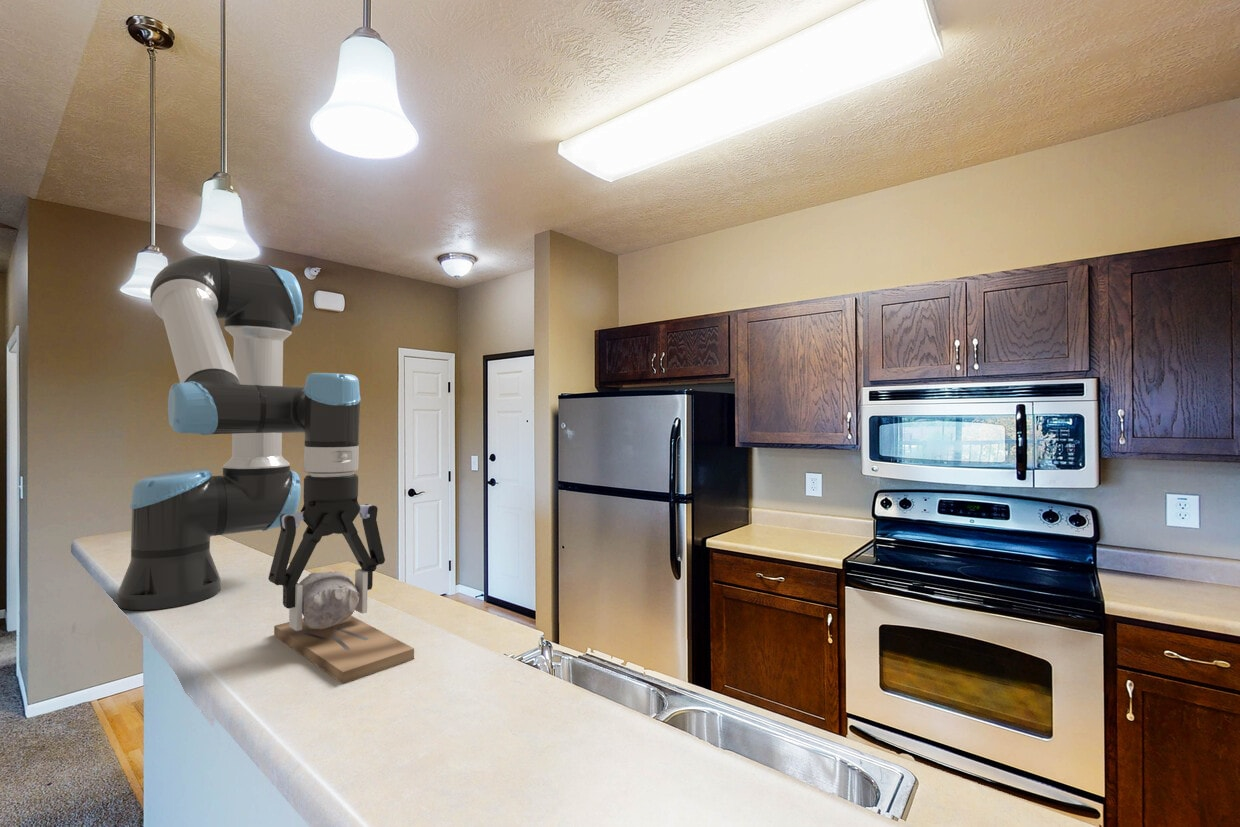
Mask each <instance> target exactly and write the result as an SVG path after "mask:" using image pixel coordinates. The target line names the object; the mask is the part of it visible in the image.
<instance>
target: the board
mask: <svg viewBox="0 0 1240 827" xmlns="http://www.w3.org/2000/svg"><path fill="white" fill-rule="evenodd" d="M273 630H274V631H273V632H274V633H273V636H275V637H276V638H277V639H278V640H281V642H283V643H285V644H286V645H288V647H290V648H292V649H293V650H294V651H296V652H297V653H298V654H300V655H301V656H303V657H304V658H306V659H307V660H309V661H310V662H312V663H313V664H314V665H316V666H317V667H319V668H320V669H322V670H323V671H324V672H325V673H327V674H329V675H330V676H331V677H333V678H334V679H335V680H336V681H339V682H340V683H341V684H346V683H348V682H352V681H355V680H357V679H360V678H364V677H366V676H369V675H373V674H375V673H379V672H380V671H383V670H386V669H389V668H392V667H394V666H397V665H400V664H403V663H406V662H409V661H412V660H414V659H415V647H412V646H411V645H408V644H407V643H405V642H403V641H401V640H399V639H397V638H395V637H393V636H391V635H389V634H387V633H385V632H383V631H382V630H380V629H377V628H376V627H374V626H372V625H370V624H368V623H367V622H365V621H362V620H361V619H358V618H357V617H354V616H353V615H351V616H350V617H349V618H347V619H346V620H343V621H342V622H340V623H338V624H337V625H334V626H332V627H329V628H325V629H310V628H309V627H307V625H306V624H305V622H304V617H302V630H299V631H295V630H294V629H292V628H291V627H289V621H288V622H283V623H280V624H279V623H278V624H276V625H274V626H273Z"/></svg>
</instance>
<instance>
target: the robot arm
mask: <svg viewBox="0 0 1240 827" xmlns="http://www.w3.org/2000/svg"><path fill="white" fill-rule="evenodd" d="M301 289H302V288H301V287H300V283H299V281H298V280H297V278H296V276H295V275H294V274H293V273H292V272H290V271H288V270H287V269H282V268H279V267H273V266H271V265H269V264H268V265H266V264H258V263H253V262H246V261H239V260H234V259H227V258H221V257H216V256H211V255H191V256H186V257H183V258H180V259H177V260H175V261H173V262H171V263H170V264H168V265H166V266H165V267H164V268H162V270H160V271H159V272H158V273H157V274H156V276H155V277H154V278H153V281H152V284H151V286H150V292H149V293H150V294H149V298H150V301H151V306H152V308H153V311H154V312H155V314H156V316H158V317H159V318H160V319H161V320H162V321H163V324H164V328H165V331H166V335H167V338H168V343H169V346H170V349H171V354H172V357H173V361H174V365H175V368H176V372H177V376H178V379H179V380H178V381H179V382H176V383H174V384H172V385H171V387H170V389H169V392H168V398H167V414H168V423H169V427H170V428H171V430H172V431H173V432H175V433H178V434H197V435H199V434H200V435H202V436H207V435H208V436H209V435H225V434H226V435H228V434H231V435H232V438H231V439H232V442H231V445H232V446H231V457H230V459H229V460H227V461H226V462H225V463H224V464H222V475H213V473H212V472H211V470H210V469H208V468H196V469H185V470H179V471H178V470H177V471H171V472H166V473H165V472H164V473H160V474H155V475H150V476H147V477H144V478H142V479H140V480H138V481H136V482H135V484H133V487H132V492H131V503H130V504H129V507H130V509H131V529H130V530H131V533H130V534H131V539H130V562H129V565H128V567H127V569H126V571H125V573H124V577H123V579H122V581H121V584H120V587H119V589H118V591H117V602H116V603H117V607H118V608H120V609H124V610H129V611H131V610H133V611H147V610H159V609H169V608H174V607H175V608H176V607H180V606H185V605H189V604H193V603H197V602H200V601H204V600H206V599H209V598H212V597H214V596H215V595H217V594H219V593H220V591H221V577H220V574H219V572H218V568H217V567H216V564H215V561H214V559H213V556H212V554H211V537H214V536H225V535H229V534H238V533H246V532H253V531H254V532H255V531H263V532H264V531H268V530H271V529H277V528H280V532H279V536H278V540H277V544H276V546H275V550H274V554H273V558H272V561H271V562H272V563H271V566H270V571H269V574H268V581H269V582H271V583H272V584H274V585H275V586H282V605H283V607H284V608H286V609H289V615H288V617H289V619H288V620H289V621H288V622H289V627H291V628H292V629H294V630H295V631H299V630H302V619H303V614H302V591H303V586H302V585H301V584H299V583H300V582H299V580H300V578H301V576H302V574H303V572H304V570H305V569H306V566H307V564H308V562H309V560H310V558H311V556H312V554H313V552H314V550H315V548H316V546H317V544H318V543H320V542H321V539H322V538H323V537H326V536H327V537H328V536H331V535H333V534H335V535H340V534H341V535H343V537H344V540H345V541H346V543H347V545H348V546H349V548H350V551H351V552H352V554H353V556H354V557H355V559H356V561H357V563H358V565H359V567H360V568H356V569H354V573H355V574H354V585H355V587H356V589H357V592H359V603H358V605H357V607H356V609H355V610H354V611H356V612H358V613H359V614H362V615H363V614H367V613H368V591H369V590H372V588H373V584H374V583H373V582H374V581H373V580H374V579H373V578H374V577H373V576H374V572H375V571H376V570H377V566H379V565H383V564H385V562H386V558H385V553H384V549H383V545H382V540H381V535H380V530H379V525H378V521H377V516H378V506H377V505H373V504H369V503H366V504H363V505H361V504H359V501H358V497H359V475H358V474H356V473H355V472H357V471H358V470H359V465H360V464H359V461H360V460H359V456H360V454H359V451H360V445H359V444H360V441H359V440H360V438H359V437H360V411H361V410H360V409H361V408H360V407H361V406H360V405H361V399H362V398H361V395H360V394H361V392H360V381H359V378H358V377H357V376H356V375H354V374H349V373H339V372H338V373H337V372H335V373H332V372H331V373H330V372H311V373H308V374H307V375H306V377H305V384H304V386H288V385H287V386H285V385H283V384H284V383H283V380H284V378H283V376H284V373H283V372H284V370H283V369H284V341H285V340H286V339H288V338H289V337H290V336H291V335H292V334H293V332H292V330H293V328H294V327H297V326H299V325H300V323H301V322H302V319H303V315H302V314H303V313H304V299H303V294H302V290H301ZM218 319H224V330H225V331H226V332H227V333H228V334H230V336H232V339H233V359H232V356H231V353H230V350H229V348H228V345H227V341H226V339H225V337H224V333H223V331H222V329H221V325H220V323H219V320H218ZM293 433H295V434H296V433H304V450H303V451H304V457H303V471H304V472H305V473H307V474H308V475H306V476H305V477H303V505H302V508H301V509H300V511H298V508H299V504H300V500H301V493H302V492H301V490H302V489H301V487H302V486H301V484H300V482H301V479H300V476H299V474H298V472H296V471H294V470H291V464H290V462H289V461H288V460H287V459H285V458H284V457H283V454H282V453H283V452H282V451H283V445H282V444H283V434H293ZM358 515H359V517H360V518H361V520H362V526H363V530H364V534H365V539H366V544H367V548H368V551H367V549H366V547H365V545H364V543H363V541H362V539H361V537H360V536H359V534H358V533H359V532H358V530H357V527H356V526H355V524H354V523H353V522H354V521H355V519H356V518H357V516H358ZM302 521H303V522H304V523H305V524H306V526H307V527H306V528H305V530H304V533H303V534H302V540H301V541H300V543H299V545H298V547H297V549H296V551H295V553H294V555H293V557H292V559H291V561H290V558H291V554H292V551H293V546H294V542H295V538H296V535H297V529H298V528H299V527H300V523H301V522H302ZM289 561H290V562H289ZM298 582H299V583H298Z"/></svg>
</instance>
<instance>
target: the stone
mask: <svg viewBox="0 0 1240 827" xmlns="http://www.w3.org/2000/svg"><path fill="white" fill-rule="evenodd" d="M299 584H301V585H302V586H303V591H302V616H303V618H304V622H305V624H306V625H307V627H309V628H310V629H325V628H329V627H332V626H334V625H337V624H338V623H340V622H342V621H343V620H346V619H347V618H349V617H350V616H353V613H355V611H356V610H355V609H356V607H357V605H358V603H359V592H357V589H356V587H355V583H354V582H353V579H352V578H351V576H349V575H347V574H346V573H344V572H341V571H327V572H326V571H324V572H312V573H309V574H308V575H307V576H305V577H304V578H303V579H302V580H301V581H300V582H299Z"/></svg>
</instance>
